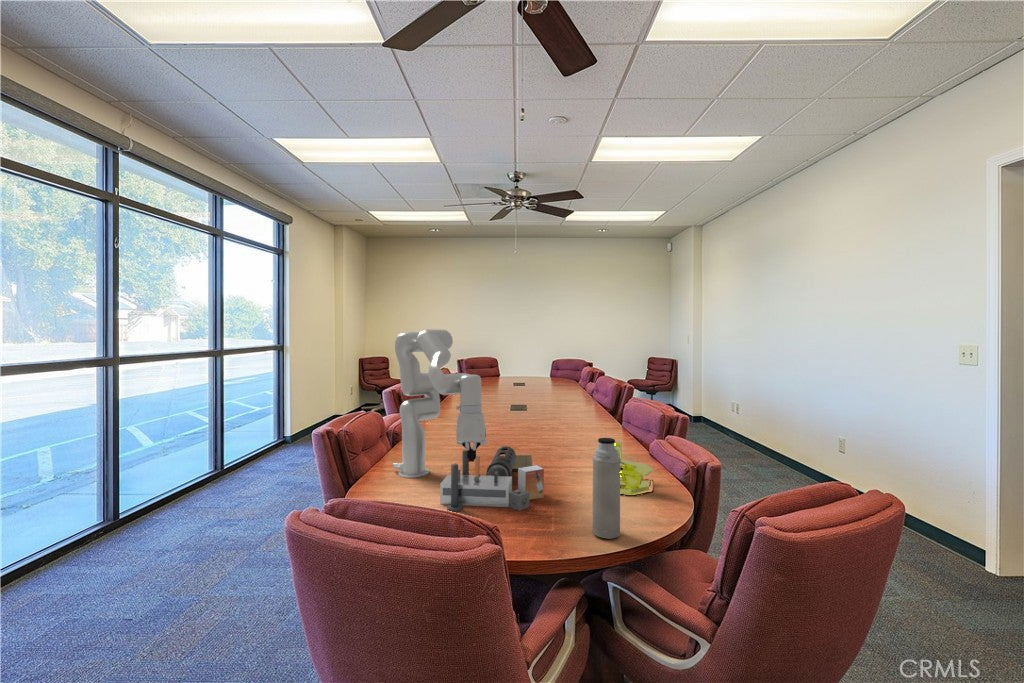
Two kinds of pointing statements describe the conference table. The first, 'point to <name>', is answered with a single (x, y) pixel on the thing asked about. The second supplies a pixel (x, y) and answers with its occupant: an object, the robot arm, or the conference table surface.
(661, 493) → the conference table surface
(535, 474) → the small box
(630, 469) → the yellow-green lump
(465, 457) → the post far
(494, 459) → the muzzle brake
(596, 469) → the thermos bottle
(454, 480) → the post near
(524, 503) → the dice cube
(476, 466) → the paddle
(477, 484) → the breaker panel
